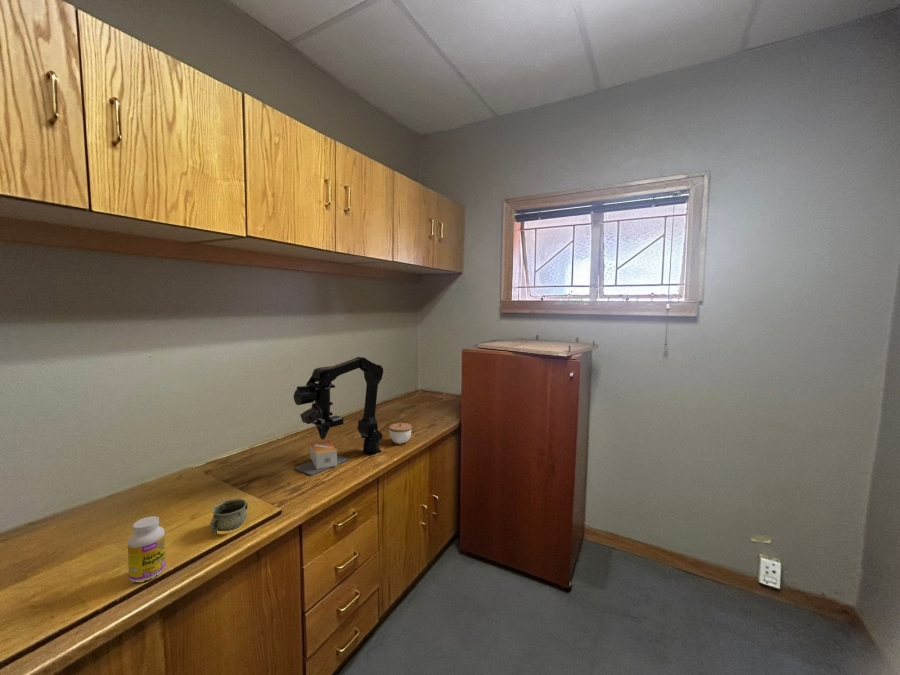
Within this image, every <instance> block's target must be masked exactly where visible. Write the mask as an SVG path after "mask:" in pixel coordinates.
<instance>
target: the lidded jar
mask: <svg viewBox="0 0 900 675" xmlns="http://www.w3.org/2000/svg"><path fill="white" fill-rule="evenodd" d="M412 429H413V428H412V424H410V423H407V422H406V423H405V422H398V423H397V422H396V423H393V424H390V425H389V436H390V439H391V440H392V442H393V443H394V442H395V443H394V444H396V443H398V444H397V445H402V444H401V443H405V442H406V443H408V441H409V440H410V438H411V435H412ZM406 443H405V444H406Z"/></svg>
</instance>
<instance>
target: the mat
mask: <svg viewBox="0 0 900 675" xmlns="http://www.w3.org/2000/svg"><path fill="white" fill-rule="evenodd" d="M348 461H350V458H347V457H346V456H342V455H338V454H337V465H336V466H332V467H327V468H322V469H316V467H315V465H314V464H313V462H312V460H310V461H307V462H304V463H302V464H300V465H297V466H294V470H297V471H299V472H301V473H304V474H306V475H308V476H310V477H312V476H315V475H317V474H320V473H322V472H325V471H327V470H329V469H331V468H334V467H337V466H338V465H341V464H343V463H346V462H348Z"/></svg>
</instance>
